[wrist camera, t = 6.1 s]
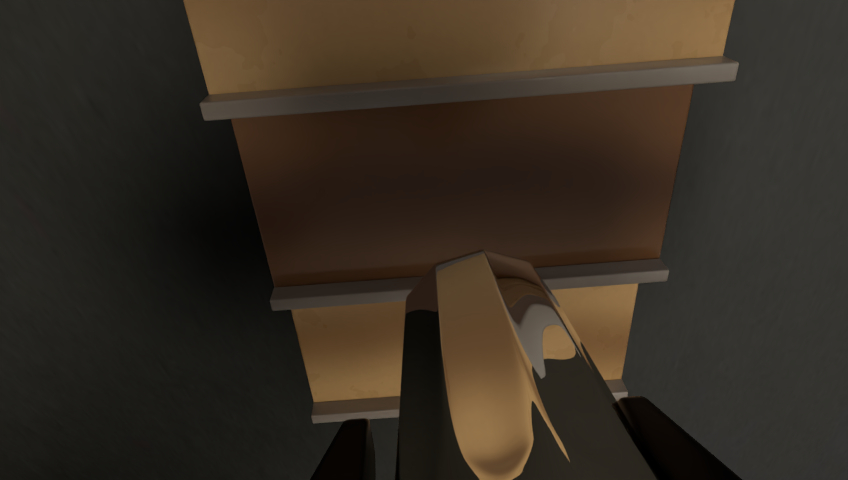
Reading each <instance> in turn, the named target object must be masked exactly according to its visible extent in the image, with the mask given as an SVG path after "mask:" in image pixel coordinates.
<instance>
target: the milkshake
mask: <svg viewBox="0 0 848 480" xmlns="http://www.w3.org/2000/svg"><path fill="white" fill-rule="evenodd" d="M395 480H663V478H662V476H661V475H660V473H659V471H658V470H657V468H656V466H655V465H654V463H653V461H652V460H651V458H650V456H649V455H648V453H647V451H646V450H645V448H644V446H643V445H642V443H641V441H640V440H639V438H638V436H637V435H636V433H635V431H634V430H633V428H632V426H631V424H630V423H629V421H628V419H627V418H626V416H625V414H624V413H623V411H622V409H621V408H620V406H619V404H618V402H617V401H616V399H615V397H614V396H613V394H612V392H611V391H610V389H609V387H608V386H607V384H606V382H605V380H604V379H603V377H602V375H601V374H600V372H599V370H598V369H597V367H596V365H595V364H594V362H593V360H592V358H591V357H590V355H589V353H588V352H587V350H586V348H585V347H584V345H583V343H582V341H581V340H580V338H579V336H578V335H577V333H576V331H575V330H574V328H573V326H572V325H571V323H570V321H569V319H568V318H567V316H566V314H565V313H564V311H563V309H562V308H561V306H560V304H559V303H558V301H557V299H556V298H555V296H554V294H553V293H552V292H551V290H550V289H549V288H548V286H547V285H546V284H545V282H544V281H543V280H542V278H541V277H540V276H539V274H538V273H537V272H536V270H535V269H534V268H533V266H532V265H531V264H530V262H529V261H528V260H524V259H520V258H516V257H512V256H508V255H504V254H500V253H496V252H493V251H489V250H485V249H481V250H477V251H474V252H471V253H468V254H464V255H461V256H458V257H454V258H451V259H448V260H444V261H441V262H437V263H435V264H434V265H433V267H432V268H431V269H430V270H429V271H428V272H427V274H426V275H425V276H424V277H423V278H422V279H421V281H420V282H419V283H418V284H417V285H416V286H415V287H414V289H413V290H412V291H411V292H410V293H409V294H408V295H407V297H406V304H405V320H404V337H403V355H402V372H401V389H400V406H399V422H398V439H397V455H396V471H395Z"/></svg>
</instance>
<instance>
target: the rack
mask: <svg viewBox="0 0 848 480" xmlns="http://www.w3.org/2000/svg"><path fill="white" fill-rule="evenodd" d="M183 2H184V5H185V9H186V13H187V16H188V20H189V24H190V27H191V31H192V35H193V38H194V42H195V45H196V49H197V53H198V56H199V60H200V64H201V67H202V71H203V75H204V78H205V82H206V85H207V89H208V93H209V95H208V96H207V97H206V98H204V99H203V100H202V101H201V102H200V108H201V112H202V115H203V118H204V120H205V121H211V120H224V119H231V122H232V126H233V130H234V133H235V137H236V141H237V145H238V149H239V153H240V156H241V160H242V164H243V168H244V172H245V176H246V180H247V183H248V187H249V191H250V195H251V199H252V203H253V207H254V210H255V214H256V218H257V222H258V226H259V230H260V234H261V237H262V241H263V245H264V249H265V253H266V257H267V261H268V264H269V268H270V272H271V276H272V280H273V284H274V287H275V288H274V289H273V292H272V295H271V298H270V304H271V307H272V310H273V311H280V310H291V312H292V316H293V320H294V324H295V328H296V332H297V336H298V340H299V344H300V348H301V352H302V356H303V360H304V365H305V369H306V373H307V377H308V381H309V385H310V389H311V393H312V397H313V401H314V403H313V408H312V414H311V418H312V422H313V423H325V422H338V421H346V420H348V419H358V418H367V419H378V418H391V417H399V406H400V389H401V372H402V355H403V337H404V320H405V304H406V297H407V295H408V294H409V293H410V292H411V291H412V290H413V289H414V287H415V286H416V285H417V284H418V283H419V282H420V281H421V279H422V278H423V277H424V276H425V275H426V274H427V272H428V271H429V270H430V269H431V268H432V267H433V265H434V264H435V263H437V262H441V261H444V260H448V259H451V258H454V257H458V256H461V255H464V254H468V253H471V252H474V251H477V250H481V249H485V250H489V251H493V252H496V253H500V254H504V255H508V256H512V257H516V258H520V259H524V260H528V261H529V262H530V264H531V265H532V266H533V268H534V269H535V270H536V272H537V273H538V274H539V276H540V277H541V278H542V280H543V281H544V282H545V284H546V285H547V286H548V288H549V289H550V290H551V292H552V293H553V294H554V296H555V298H556V299H557V301H558V303H559V304H560V306H561V308H562V309H563V311H564V313H565V314H566V316H567V318H568V319H569V321H570V323H571V325H572V326H573V328H574V330H575V331H576V333H577V335H578V336H579V338H580V340H581V341H582V343H583V345H584V347H585V348H586V350H587V352H588V353H589V355H590V357H591V358H592V360H593V362H594V364H595V365H596V367H597V369H598V370H599V372H600V374H601V375H602V377H603V379H604V380H605V382H606V384H607V386H608V387H609V389H610V391H611V392H612V394H613V396H614V397H615V399H616V400H619V399H620V398H622V397H627V395H628V391H627V389H626V387H625V385H624V383H623V381H622V380H621V377H622V372H623V366H624V361H625V355H626V349H627V344H628V338H629V333H630V327H631V322H632V316H633V310H634V305H635V299H636V294H637V288H638V283H649V282H663V281H667V278H668V273H669V270H668V268H667V267H666V266H665V264H664V263H663V262H662V260H661V259H659V257H660V252H661V247H662V242H663V237H664V232H665V227H666V222H667V217H668V212H669V207H670V202H671V197H672V192H673V187H674V182H675V177H676V172H677V167H678V162H679V157H680V152H681V147H682V142H683V137H684V131H685V126H686V121H687V116H688V111H689V106H690V101H691V96H692V91H693V86H694V84H703V83H717V82H730V81H735V78H736V74H737V70H738V66H739V63H738V62H736V61H734V60H731V59H729V58H727V57H724V56H723V52H724V47H725V43H726V38H727V34H728V29H729V25H730V20H731V16H732V11H733V6H734V2H735V0H183Z"/></svg>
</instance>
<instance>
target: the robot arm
mask: <svg viewBox="0 0 848 480" xmlns="http://www.w3.org/2000/svg"><path fill="white" fill-rule="evenodd" d="M618 404H619V406H620V408H621V409H622V411H623V413H624V414H625V416H626V418H627V419H628V421H629V423H630V424H631V426H632V428H633V430H634V431H635V433H636V435H637V436H638V438H639V440H640V441H641V443H642V445H643V446H644V448H645V450H646V451H647V453H648V455H649V456H650V458H651V460H652V461H653V463H654V465H655V466H656V468H657V470H658V471H659V473H660V475H661V476H662V478H663V480H742V479H741V478H740V477H738V476H737V475H736V474H735V473H734V472H733V471H731V470H730V469H729V468H728V467H727V466H725V465H724V464H723V463H722V462H721V461H720V460H718V459H717V458H716V457H715V456H714V455H713V454H711V453H710V452H709V451H708V450H707V449H705V448H704V447H703V446H702V445H701V444H700V443H698V442H697V441H696V440H695V439H694V438H693V437H691V436H690V435H689V434H688V433H687V432H685V431H684V430H683V429H682V428H681V427H680V426H678V425H677V424H676V423H675V422H674V421H673V420H671V419H670V418H669V417H668V416H667V415H665V414H664V413H663V412H662V411H661V410H660V409H658V408H657V407H656V406H655V405H654V404H653V403H651V402H650V401H649V400H648V399H646V398H645V397H642V396H633V397H622V398H620V399H619V400H618ZM310 480H375V450H374V444H373V438H372V432H371V427H370V422H369V420H368V419H367V418H358V419H348V420H346V421H344V422H343V424H342V425H341V427H340V429H339V431H338V432H337V434H336V436H335V437H334V439H333V441H332V443H331V444H330V446H329V448H328V450H327V451H326V453H325V455H324V456H323V458H322V460H321V462H320V463H319V465H318V467H317V469H316V470H315V472H314V474H313V475H312V477H311V479H310Z"/></svg>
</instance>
